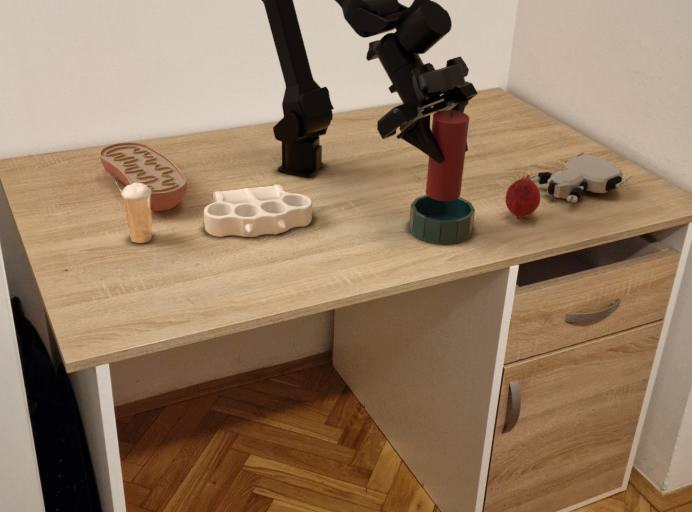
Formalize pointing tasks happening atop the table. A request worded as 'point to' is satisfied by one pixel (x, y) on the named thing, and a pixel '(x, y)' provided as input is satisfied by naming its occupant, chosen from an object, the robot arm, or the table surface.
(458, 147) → the candle
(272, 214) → the knuckle duster
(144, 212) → the milkshake
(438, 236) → the shallow bowl
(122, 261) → the table surface
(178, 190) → the mitochondrion model
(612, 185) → the robot toy
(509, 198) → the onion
